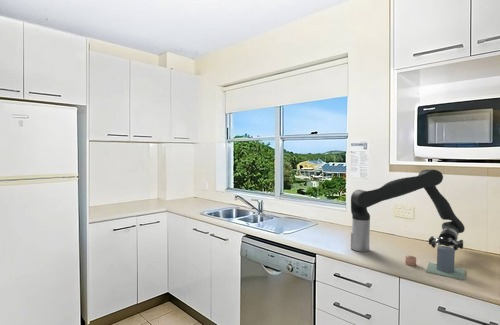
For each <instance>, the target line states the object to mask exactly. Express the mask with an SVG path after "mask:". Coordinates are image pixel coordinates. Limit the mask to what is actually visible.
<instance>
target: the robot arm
mask: <svg viewBox="0 0 500 325" xmlns="http://www.w3.org/2000/svg"><path fill="white" fill-rule="evenodd" d="M443 180H444V175H443V173H442V172H441V171H439V170H437V169H423V170H420V172H419V173H418V175H415V176H408V177H401V178H398V179H394V180H391V181H388V182H386V183H385V184H383V185H382V186H380V187H379V188H375V189H371V190H363V189H355V190H354V191H353V192H352V193H351V196H350V212H351V214H352V215H351V216H352V219H351V221H352V222H351V223H352V224H351V228H352V229H351V232H350V250H353V251H356V252H360V253H361V252H362V253H365V252H369V251H370V239H371V238H370V234H371V233H370V231H371V230H370V229H371V214H370V213H369V211H368V208H369V207H371V206H373V205H376V204H379V203H381V202H383V201H387V200H388V201H389V200H391V199H394V198H398V197H402V196H404V195H407V194H411V193H412V192H415V191H418V190H421V189H424V191H425V193H427V195H428V196H429V198H430V199H431V201H432V203H433V204H434V207H435V209H436V211H437V214H438V216H439V217H440V219H441V220H444V221H445V220H446V221H445V222H443V223H442V224H441V229H442V231H441V232H440V234H439V235H438V237H436V238H435V237H434V236H430V237H429V238H428V245H430V246H431V247H432V249H434V248H436V246H437V247H438V246H446V247H451V248H454V249H455V251H457V250H458V249H461V250H462V249H463V250H464V239H460V240H459V239H458V238H459V234H462V233H464V232H465V229H466V228H465V225H464V223H463V222H462V221H461V220H460V219H459V218H458V217H457V215H456V214H455V213H454V210H453V208H452V207H451V204H450V202H449V201H448V199H447V198H445V196H444V195H443V194H442V193H441V192H440V190H438V188H437V186H438V185H440V184H441V183H442V181H443Z"/></svg>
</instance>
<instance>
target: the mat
mask: <svg viewBox="0 0 500 325" xmlns="http://www.w3.org/2000/svg"><path fill="white" fill-rule="evenodd" d="M427 264H428V265H427V266H426V270H425V273H427V274H433V275H439V276H443V277H447V278H451V279H455V280H456V279H457V280H460V281H465V274H466V273H465V269H464V268H460V267H459V268H458V267H455V266H454V273H446V272H441V271H439V270H437V263H435V262H428V263H427Z"/></svg>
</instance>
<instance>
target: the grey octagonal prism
mask: <svg viewBox="0 0 500 325" xmlns="http://www.w3.org/2000/svg"><path fill="white" fill-rule="evenodd" d="M436 253H437V255H436V264H437V270H439V271H441V272H446V273H454V267H455V256H456V255H455V254H456V250H455V249H454V248H453V247H451V246H445V245H440V246H438V245H437V250H436Z"/></svg>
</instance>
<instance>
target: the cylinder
mask: <svg viewBox="0 0 500 325" xmlns="http://www.w3.org/2000/svg"><path fill="white" fill-rule="evenodd" d="M404 257H405V259H404V260H405V265H406V266H410V267H416V266H417V257H416V256H414V255H405V256H404Z"/></svg>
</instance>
